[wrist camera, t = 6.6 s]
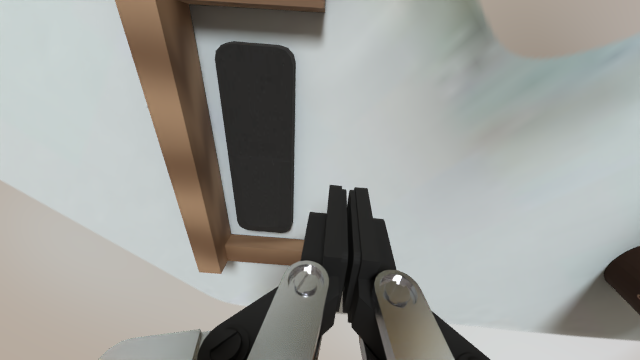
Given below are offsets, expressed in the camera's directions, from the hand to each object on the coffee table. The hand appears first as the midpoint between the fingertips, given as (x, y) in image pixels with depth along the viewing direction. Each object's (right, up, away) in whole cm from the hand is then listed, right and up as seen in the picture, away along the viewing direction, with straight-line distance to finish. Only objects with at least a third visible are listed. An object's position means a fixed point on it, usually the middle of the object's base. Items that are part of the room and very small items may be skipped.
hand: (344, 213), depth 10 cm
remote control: (-6, +4, +8) cm, 10 cm away
